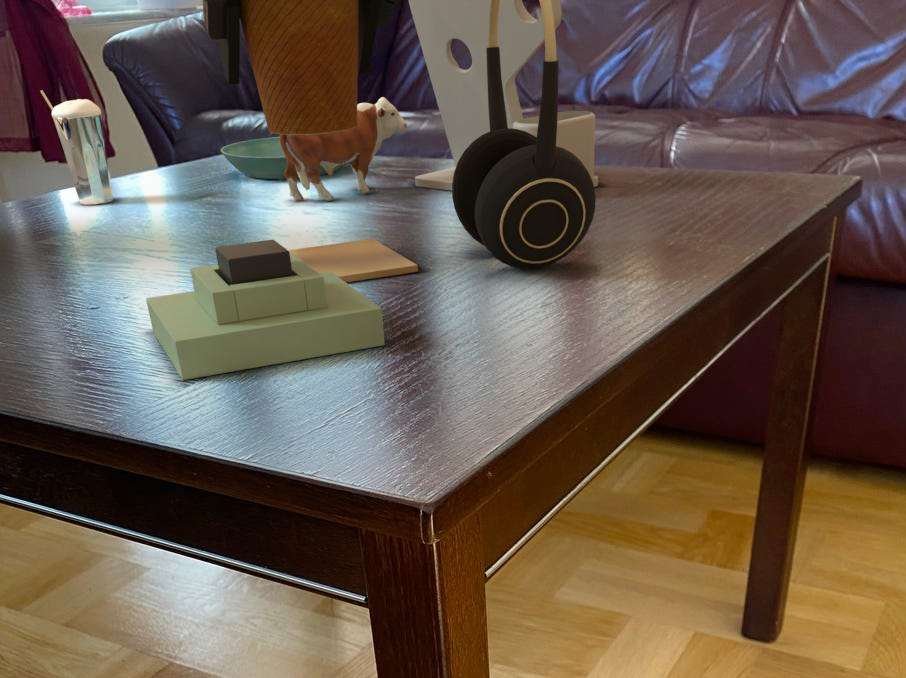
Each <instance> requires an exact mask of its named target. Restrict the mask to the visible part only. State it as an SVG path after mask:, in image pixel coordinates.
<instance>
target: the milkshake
mask: <svg viewBox="0 0 906 678" xmlns="http://www.w3.org/2000/svg"><path fill="white" fill-rule="evenodd" d="M39 92H40V94H41V95H42V97H43V98H44V100H45V102H46V103H47V105H48V107H49V108H50V110H51V117H52V119H53V123H54V126H55V129H56V132H57V135H58V138H59V141H60V144H61V146H62V149H63V152H64V157H65V159H66V163H67V166H68V169H69V172H70V175H71V178H72V179H71V180H72V182H73V185H74V188H75V192H76V194H77V198H78V201H79V203H80V204H81V205H85V206H86V205H87V206H88V205H89V206H90V205H93V206H94V205H103V204H106V203H111V202H113V200H114V192H113V186H112V180H111V173H110V166H109V161H108V153H107V147H106V146H107V145H106V139H105V132H104V124H103V123H104V122H103V116H102V114H103V113H102V110H101V108H100V107H99V106H98V105H97V104H96V103H95V102H93V101H92V100H90V99H87V98H84V99H81V98H77V99H72V100H66V101H63V102H62V103H59V104H57V105H54V107H53V105H52V103H51V102H50V100H49V98H48V97H47V96H46V95H47V94H45V92H44V90H42V89H41V90H39Z"/></svg>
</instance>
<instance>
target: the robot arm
mask: <svg viewBox="0 0 906 678" xmlns="http://www.w3.org/2000/svg"><path fill="white" fill-rule="evenodd" d="M401 1H402V0H359V1H358V2H359V10H358V75H368V74H370V70H371V65H372V57H373V52H374V46H375V39H376V35H377V34H376V33H377V29H386V28H387V27H388V25H389V23H390V22H391V14H392V10H393V6H396V5H398V4H399V3H400V2H401ZM202 14H203V15H202V16H203V20H204V23H205V27H206V30H207V34H208V36H209V38H210V39H211V40H213V41H214V40H218V52H219V57H220V60H221V63H222V67H223V70H224V74H225V77H226V81H227V84H228V85H240V62H241V61H240V58H241V57H240V56H241V55H240V53H241V51H240V48H241V47H240V44H241V39H240V38H241V20H240V6H239V3H238V0H202Z"/></svg>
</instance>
